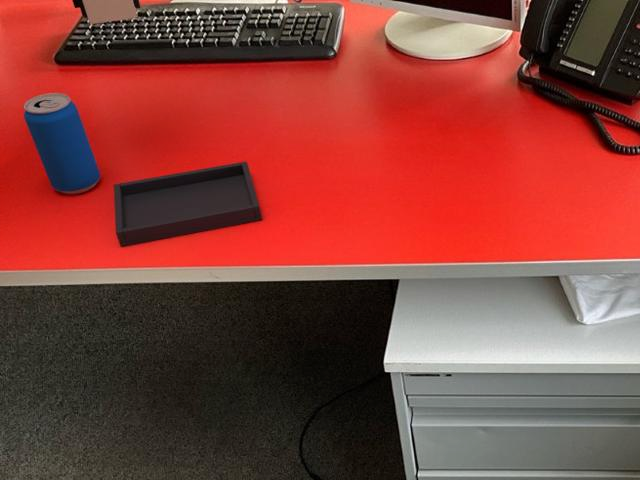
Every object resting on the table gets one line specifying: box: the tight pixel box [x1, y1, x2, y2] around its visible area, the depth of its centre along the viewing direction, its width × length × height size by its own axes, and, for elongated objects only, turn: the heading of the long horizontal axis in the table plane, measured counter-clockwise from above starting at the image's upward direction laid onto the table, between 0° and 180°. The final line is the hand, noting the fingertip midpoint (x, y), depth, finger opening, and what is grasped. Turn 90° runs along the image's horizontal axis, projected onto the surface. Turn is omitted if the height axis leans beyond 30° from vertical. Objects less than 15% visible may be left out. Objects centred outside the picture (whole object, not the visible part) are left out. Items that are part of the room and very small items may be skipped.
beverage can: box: [23, 92, 102, 195], centre depth 119 cm, size 6×6×12 cm
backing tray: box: [113, 161, 263, 247], centre depth 117 cm, size 18×13×2 cm
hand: (111, 7), depth 119 cm, fingers closed on pad, 6 cm apart
